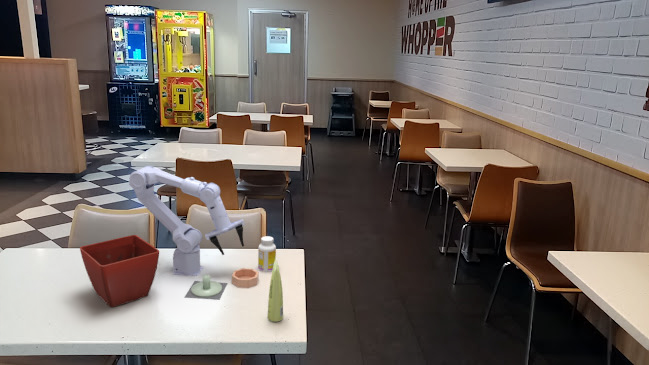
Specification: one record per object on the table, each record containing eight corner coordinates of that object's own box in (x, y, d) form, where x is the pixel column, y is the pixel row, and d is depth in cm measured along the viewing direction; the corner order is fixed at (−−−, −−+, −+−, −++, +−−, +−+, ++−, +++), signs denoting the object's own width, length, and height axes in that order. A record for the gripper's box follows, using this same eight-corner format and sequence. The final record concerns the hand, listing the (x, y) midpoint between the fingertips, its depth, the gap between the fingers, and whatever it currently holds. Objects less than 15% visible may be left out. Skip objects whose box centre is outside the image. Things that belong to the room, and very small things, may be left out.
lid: (187, 296, 166) (186, 282, 164) (196, 282, 176) (195, 268, 174) (217, 298, 166) (217, 284, 164) (225, 283, 176) (224, 270, 174)
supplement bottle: (277, 266, 193) (277, 235, 189) (273, 273, 186) (274, 242, 183) (260, 264, 193) (260, 234, 190) (256, 272, 187) (256, 241, 183)
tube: (262, 317, 157) (263, 261, 151) (274, 311, 160) (275, 256, 155) (275, 324, 153) (276, 267, 148) (286, 318, 157) (288, 262, 152)
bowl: (230, 287, 174) (230, 278, 173) (235, 276, 183) (235, 267, 182) (255, 289, 174) (255, 280, 173) (259, 277, 182) (259, 269, 182)
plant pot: (137, 276, 179) (135, 233, 174) (162, 296, 166) (160, 250, 161) (82, 292, 166) (78, 246, 161) (105, 316, 153) (101, 266, 148)
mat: (184, 298, 165) (184, 297, 165) (194, 282, 177) (194, 280, 177) (219, 301, 165) (219, 299, 165) (227, 284, 177) (227, 282, 176)
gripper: (200, 226, 171) (215, 260, 174) (239, 210, 175) (253, 244, 177) (199, 222, 178) (213, 255, 181) (237, 207, 181) (250, 240, 184)
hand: (233, 249), depth 180 cm, fingers open, 7 cm apart
